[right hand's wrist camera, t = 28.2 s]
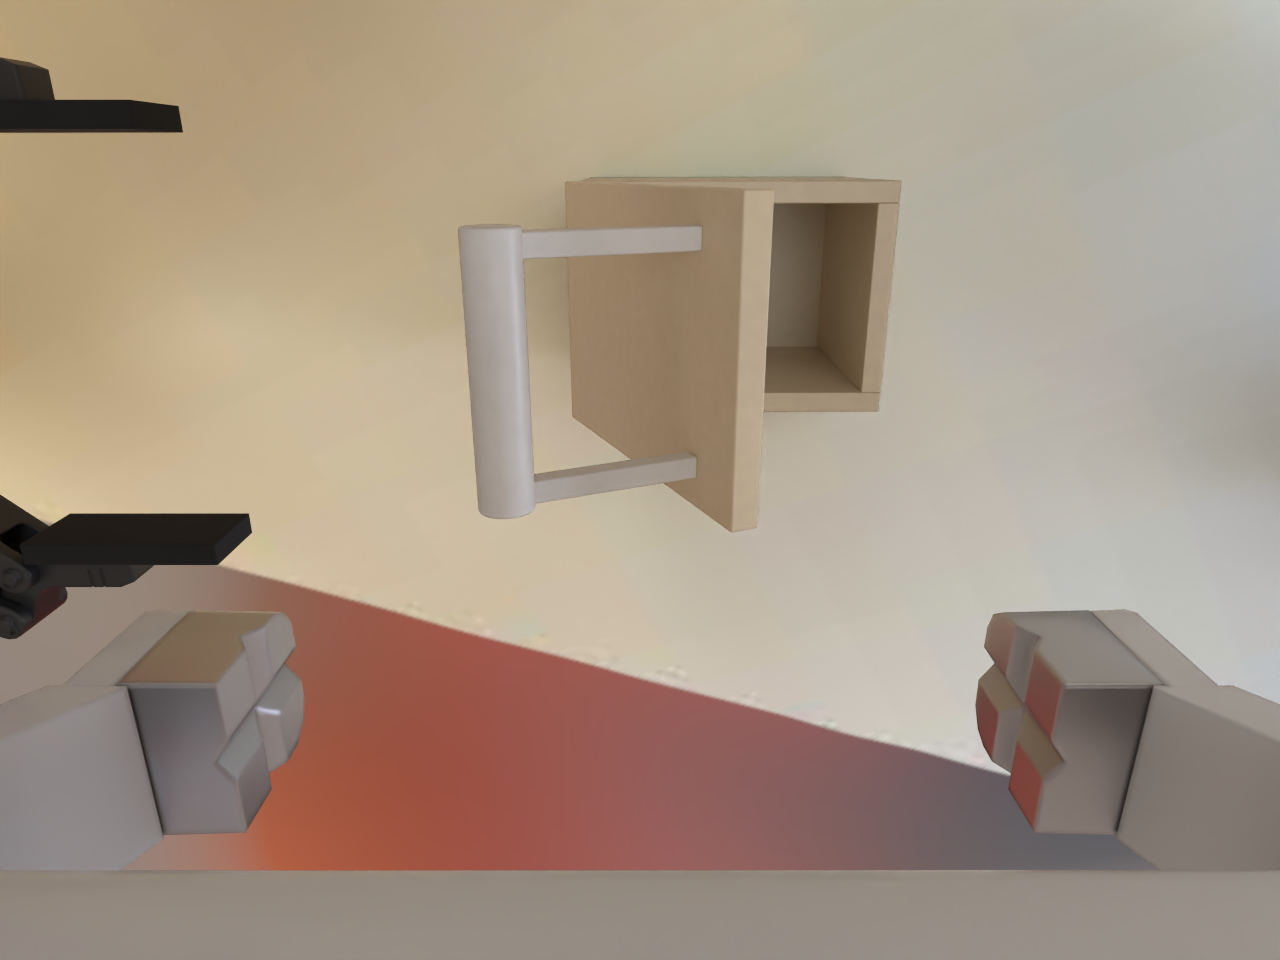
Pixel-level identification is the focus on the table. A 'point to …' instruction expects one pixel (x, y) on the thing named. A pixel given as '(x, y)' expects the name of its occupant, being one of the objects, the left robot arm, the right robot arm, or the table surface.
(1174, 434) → the table surface
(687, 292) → the lid
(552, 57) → the table surface
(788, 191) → the chest
